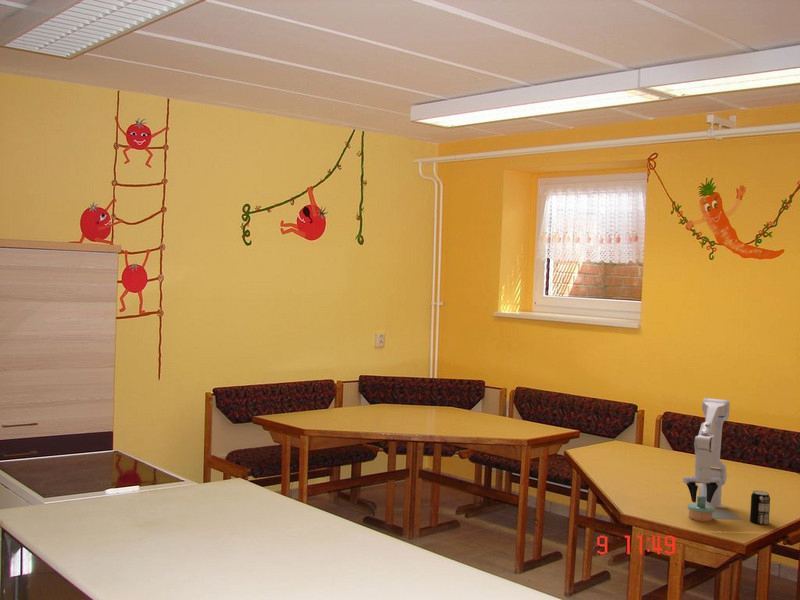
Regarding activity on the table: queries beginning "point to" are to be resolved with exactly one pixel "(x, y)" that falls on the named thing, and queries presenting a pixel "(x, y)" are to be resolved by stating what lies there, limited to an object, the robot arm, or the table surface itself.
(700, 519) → the bowl
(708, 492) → the robot arm
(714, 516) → the mat
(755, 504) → the beverage can
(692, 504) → the lid
